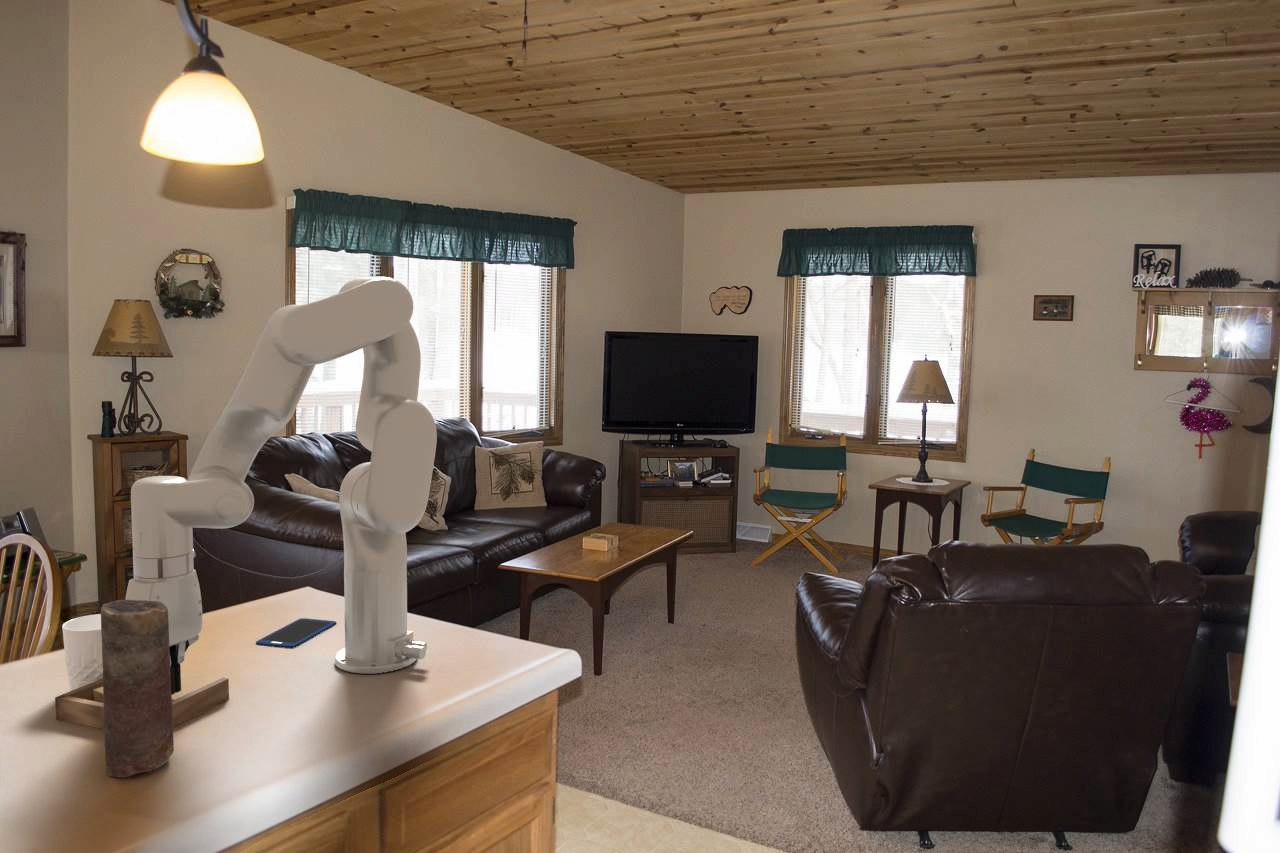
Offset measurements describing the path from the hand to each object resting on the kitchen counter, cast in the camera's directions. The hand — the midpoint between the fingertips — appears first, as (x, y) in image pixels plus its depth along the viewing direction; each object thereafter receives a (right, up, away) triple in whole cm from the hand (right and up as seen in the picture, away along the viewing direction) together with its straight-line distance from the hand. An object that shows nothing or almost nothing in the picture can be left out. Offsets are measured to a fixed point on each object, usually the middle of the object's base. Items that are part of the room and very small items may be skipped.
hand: (168, 691), depth 136 cm
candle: (+7, -4, -20) cm, 21 cm away
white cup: (-12, -1, +3) cm, 12 cm away
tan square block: (-4, -2, -3) cm, 5 cm away
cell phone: (+8, +1, +29) cm, 30 cm away
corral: (-1, -1, -4) cm, 4 cm away
